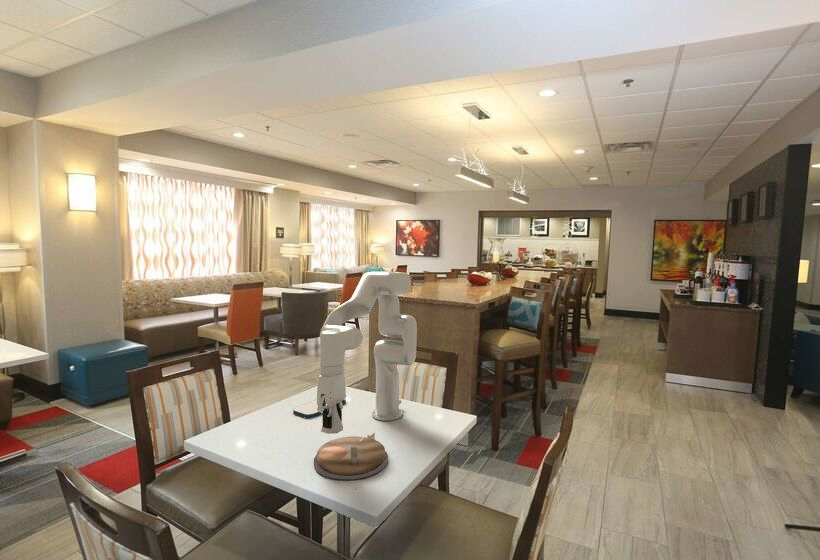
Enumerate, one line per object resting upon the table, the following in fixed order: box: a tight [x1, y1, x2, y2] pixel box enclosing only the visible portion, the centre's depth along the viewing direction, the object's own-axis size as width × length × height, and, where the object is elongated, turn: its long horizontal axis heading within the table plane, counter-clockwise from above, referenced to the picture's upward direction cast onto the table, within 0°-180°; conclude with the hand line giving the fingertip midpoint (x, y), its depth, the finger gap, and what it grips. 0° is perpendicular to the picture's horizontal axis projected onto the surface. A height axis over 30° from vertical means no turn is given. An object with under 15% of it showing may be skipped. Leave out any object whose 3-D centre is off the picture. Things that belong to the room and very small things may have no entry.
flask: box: [320, 405, 344, 435], centre depth 138 cm, size 7×7×10 cm
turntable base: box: [313, 431, 389, 482], centre depth 141 cm, size 26×24×4 cm
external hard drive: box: [292, 398, 347, 419], centre depth 186 cm, size 24×12×2 cm, turn 146°
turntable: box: [316, 435, 386, 475], centre depth 140 cm, size 22×22×7 cm
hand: (332, 424), depth 139 cm, fingers closed on flask, 4 cm apart
